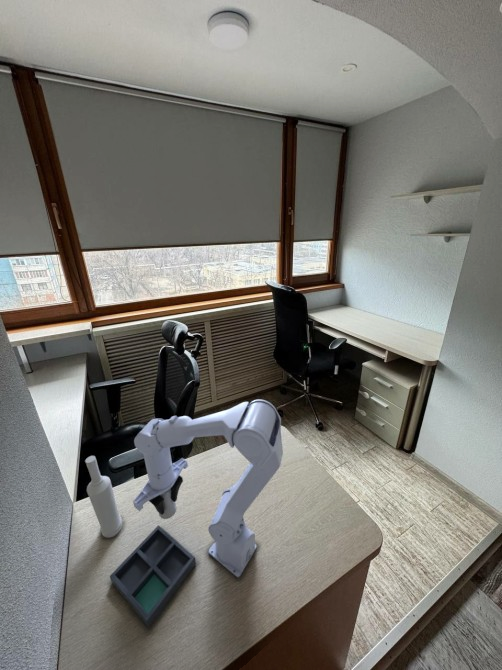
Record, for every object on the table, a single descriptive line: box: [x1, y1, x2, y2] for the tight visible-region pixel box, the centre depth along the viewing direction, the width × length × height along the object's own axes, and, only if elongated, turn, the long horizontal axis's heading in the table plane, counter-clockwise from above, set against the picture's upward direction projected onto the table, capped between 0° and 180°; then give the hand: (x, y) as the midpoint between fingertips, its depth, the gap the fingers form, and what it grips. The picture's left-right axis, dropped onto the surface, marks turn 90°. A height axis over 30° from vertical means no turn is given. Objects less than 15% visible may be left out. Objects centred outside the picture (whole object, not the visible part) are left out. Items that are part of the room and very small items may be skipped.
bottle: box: [84, 455, 123, 539], centre depth 67 cm, size 5×5×25 cm
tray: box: [109, 525, 197, 629], centre depth 62 cm, size 13×13×3 cm
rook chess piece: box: [158, 488, 178, 520], centre depth 68 cm, size 4×4×8 cm
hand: (167, 505), depth 68 cm, fingers closed on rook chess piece, 3 cm apart
